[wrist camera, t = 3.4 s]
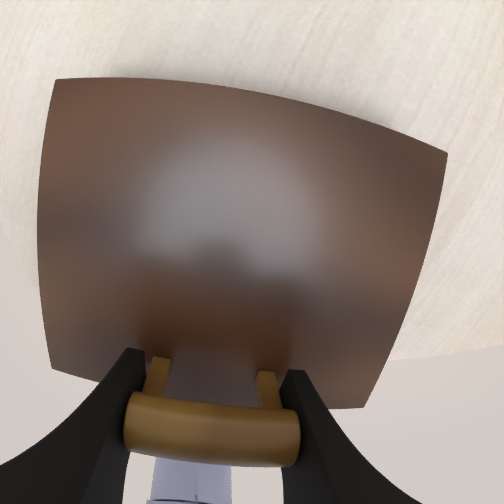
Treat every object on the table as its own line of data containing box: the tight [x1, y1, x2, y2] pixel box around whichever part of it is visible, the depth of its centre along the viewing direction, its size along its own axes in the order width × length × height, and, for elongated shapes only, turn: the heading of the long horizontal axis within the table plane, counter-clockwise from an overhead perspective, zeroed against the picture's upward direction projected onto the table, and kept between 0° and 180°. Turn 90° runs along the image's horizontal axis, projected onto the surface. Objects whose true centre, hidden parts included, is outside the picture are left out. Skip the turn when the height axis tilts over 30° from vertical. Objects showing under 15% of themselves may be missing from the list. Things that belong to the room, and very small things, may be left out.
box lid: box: [37, 77, 448, 467], centre depth 8 cm, size 12×14×5 cm
